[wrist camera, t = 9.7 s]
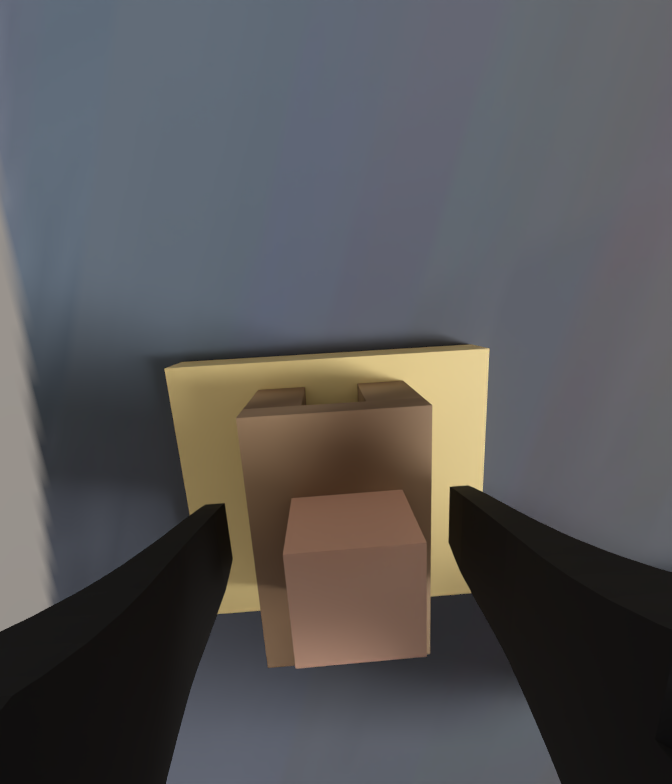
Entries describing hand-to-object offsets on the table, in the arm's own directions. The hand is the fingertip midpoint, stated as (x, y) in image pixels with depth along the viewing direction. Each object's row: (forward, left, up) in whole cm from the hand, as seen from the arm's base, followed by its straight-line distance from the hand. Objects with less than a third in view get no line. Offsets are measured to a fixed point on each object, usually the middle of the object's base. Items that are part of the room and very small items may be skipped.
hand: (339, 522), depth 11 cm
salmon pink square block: (0, 0, +1) cm, 1 cm away
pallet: (0, 0, -2) cm, 2 cm away
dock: (0, 0, -3) cm, 3 cm away
